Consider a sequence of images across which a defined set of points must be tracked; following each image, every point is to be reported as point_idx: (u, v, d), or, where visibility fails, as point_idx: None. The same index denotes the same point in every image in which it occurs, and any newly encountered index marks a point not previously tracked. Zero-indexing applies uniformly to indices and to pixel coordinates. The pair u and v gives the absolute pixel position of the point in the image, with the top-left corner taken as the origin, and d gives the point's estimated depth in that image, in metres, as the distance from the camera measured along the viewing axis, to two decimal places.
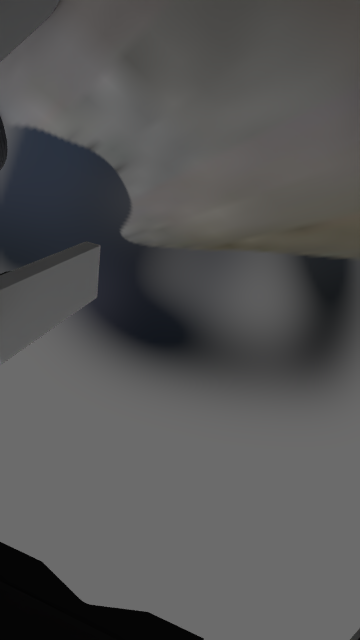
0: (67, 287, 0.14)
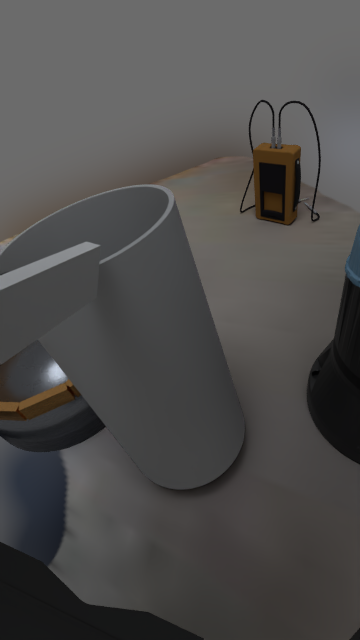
0: (67, 287, 0.14)
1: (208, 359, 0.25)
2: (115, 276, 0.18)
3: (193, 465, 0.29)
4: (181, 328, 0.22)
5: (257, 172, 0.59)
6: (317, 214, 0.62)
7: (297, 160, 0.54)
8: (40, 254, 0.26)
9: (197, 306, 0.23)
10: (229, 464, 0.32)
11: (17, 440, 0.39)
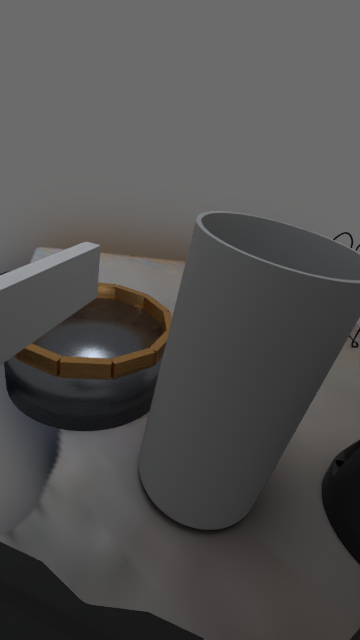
0: (67, 287, 0.14)
1: (303, 413, 0.25)
2: (333, 298, 0.18)
3: (214, 504, 0.28)
4: (320, 373, 0.22)
5: None
6: (357, 343, 0.67)
7: None
8: None
9: None
10: (234, 522, 0.30)
11: (28, 398, 0.37)
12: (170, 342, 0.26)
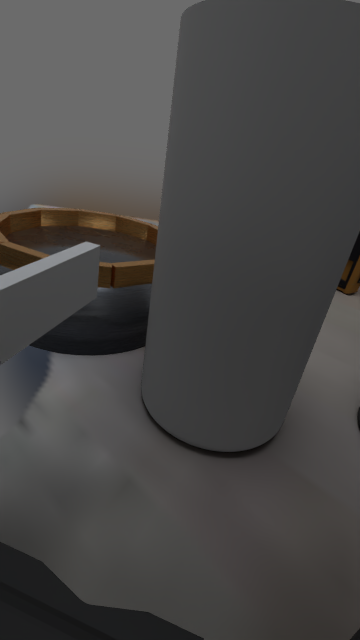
0: (67, 287, 0.14)
1: (337, 277, 0.20)
2: None
3: (231, 411, 0.22)
4: (357, 198, 0.17)
5: None
6: None
7: None
8: None
9: None
10: (258, 443, 0.25)
11: None
12: (162, 203, 0.21)
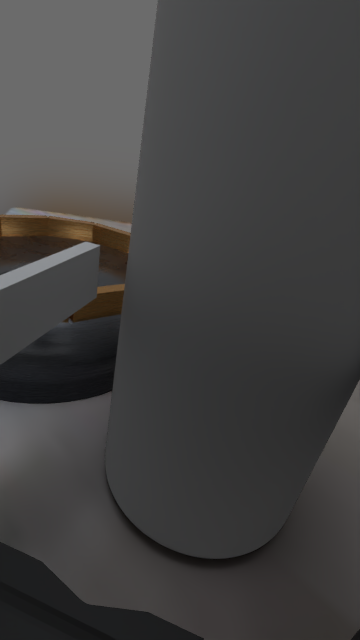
0: (67, 287, 0.14)
1: None
2: None
3: (220, 511, 0.16)
4: None
5: None
6: None
7: None
8: None
9: None
10: (257, 546, 0.18)
11: None
12: (133, 213, 0.15)
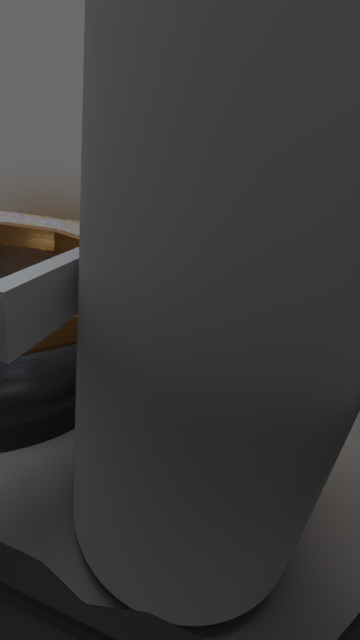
0: (73, 287, 0.14)
1: None
2: None
3: (258, 566, 0.13)
4: None
5: None
6: None
7: None
8: None
9: None
10: (281, 574, 0.17)
11: None
12: (91, 233, 0.10)
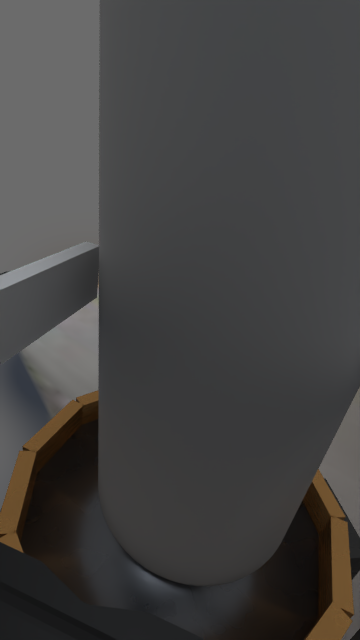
0: (67, 287, 0.14)
1: None
2: None
3: (247, 543, 0.16)
4: None
5: None
6: None
7: None
8: None
9: None
10: (274, 551, 0.19)
11: None
12: (106, 267, 0.12)
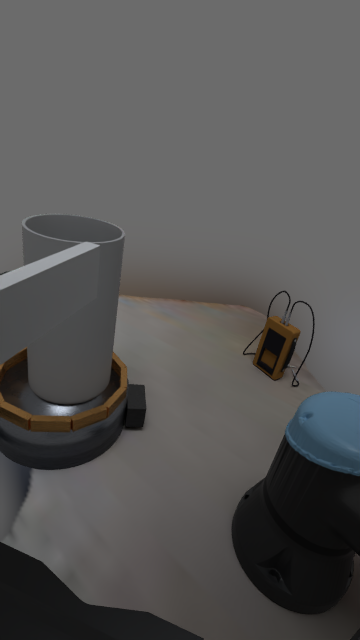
0: (67, 287, 0.14)
1: (106, 320, 0.46)
2: None
3: (69, 383, 0.48)
4: (101, 293, 0.43)
5: (265, 333, 0.77)
6: (297, 382, 0.78)
7: (295, 339, 0.73)
8: (42, 229, 0.47)
9: (113, 289, 0.45)
10: (89, 398, 0.51)
11: (7, 444, 0.48)
12: None
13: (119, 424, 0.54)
